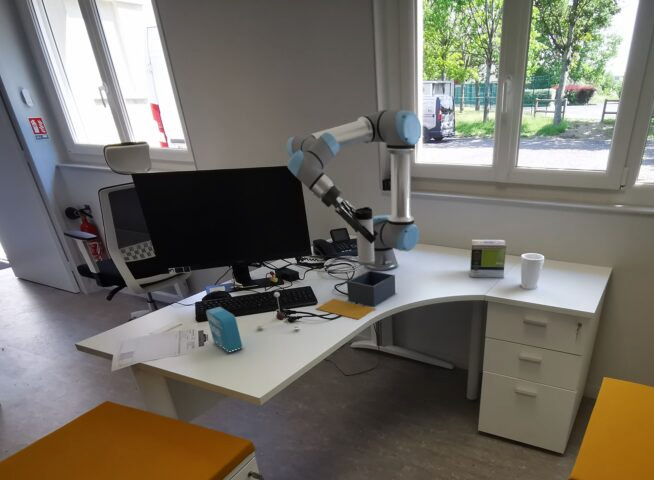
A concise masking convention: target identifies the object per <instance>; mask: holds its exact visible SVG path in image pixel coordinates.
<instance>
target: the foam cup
mask: <svg viewBox="0 0 654 480" xmlns="http://www.w3.org/2000/svg"><path fill="white" fill-rule="evenodd" d="M544 262H545V256H544V255H543V254H540V253H535V252H530V253H529V252H527V253H522V254H521V257H520V287H521V288H523V289H526V290H534V289H536V288H537V285H538V282H539V279H540V275H541V272H542V269H543V265H544V264H545V263H544Z"/></svg>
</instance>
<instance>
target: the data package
mask: <svg viewBox="0 0 654 480" xmlns="http://www.w3.org/2000/svg"><path fill="white" fill-rule="evenodd" d="M205 314H206V318H207V322H208V325H209V329H210V334H211V337H212V341H213V342H214V344H216V346H218V347H220V349H222V350H223V351H225V352H226V353H227V354H231V353H235V352H237V351H241V350H242V349H243V343H242V339H241V334H240V331H239V326H238V321H237V317H236V316H235V315H234V314H233V313H231V312H230V311H228V310H227V309H224V308H223V307H221V306H217V307H213V308H210V309H206V310H205ZM216 342H217V343H216ZM220 345H221V346H220ZM223 347H224V348H225V349H224V348H223ZM241 347H242V348H241ZM238 348H240V349H238ZM235 349H237V350H235ZM227 350H228V351H227ZM232 350H234V351H232ZM229 351H231V352H229Z"/></svg>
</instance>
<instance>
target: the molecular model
mask: <svg viewBox="0 0 654 480" xmlns="http://www.w3.org/2000/svg"><path fill="white" fill-rule="evenodd" d="M280 295H281V294H280V292H278V291H275V292H274V293H273V296H274V297H275V298H276V300H277V301H279V298H280ZM277 304H278V305H277V306H278V307H280V304H279V302H277ZM275 317H276V318H274V319H272V320H270V321H268V322H266V323H265V324H263V325H262V324H257V326H256V329H257V330H258V331H261V330H262V329H263V327H264V326H266V325H268V324H269V323H272V322H273V321H276V320H277V321H283V320H284V321H286V322H287V323H289V324H290V325H291V326H293V328H299V327H300V325H293V324H292V323H291V322H289V321H288V320H286V319H285V318H286V316H285V314H284V313H283V312H282V311H281V309H280V308H278V312H277V313H276V315H275ZM261 327H262V328H261ZM300 329H301V328H299V329H294V331H296V332H299V331H300Z"/></svg>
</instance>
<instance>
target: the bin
mask: <svg viewBox="0 0 654 480" xmlns="http://www.w3.org/2000/svg"><path fill="white" fill-rule="evenodd" d="M346 288H347V289H346V290H347V299H348V301H347V302H351V303H356V304H360V305H364V306H369V307H373V308H375V307H376V306H378V305H379V304H382V303H383V302H384V301H386V300H388V299H389V298H391V297H393V296H394V295H396V275H395V274H391V273H386V272H381V271H380V272H379V271H376V270H371V269H368V270H367V271H364V272H363V273H361V274H359V275H356V276H354V277H353V278H350V279H349V280H347V281H346Z"/></svg>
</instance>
